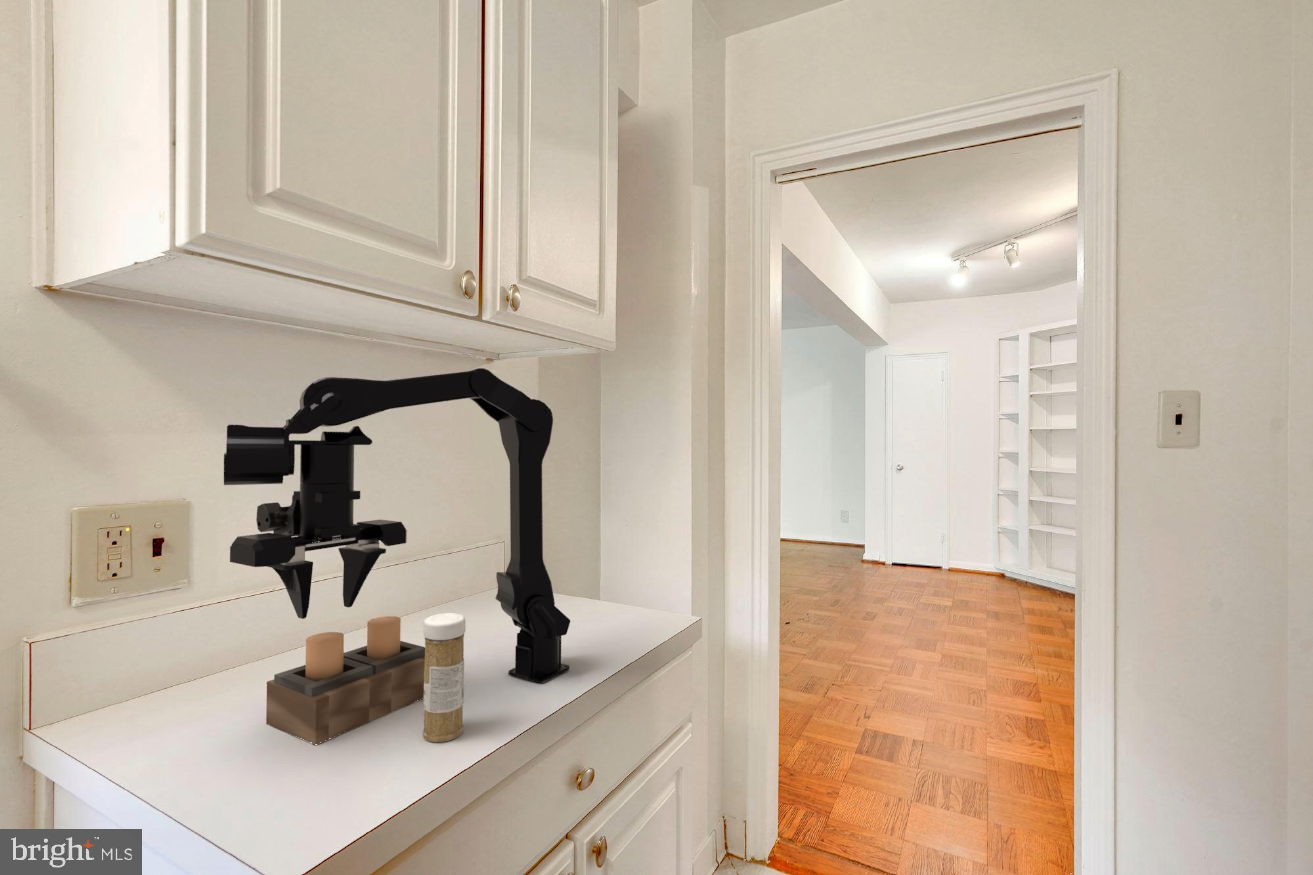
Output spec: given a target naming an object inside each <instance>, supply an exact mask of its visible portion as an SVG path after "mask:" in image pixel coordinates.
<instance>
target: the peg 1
mask: <svg viewBox="0 0 1313 875" xmlns="http://www.w3.org/2000/svg"><path fill="white" fill-rule="evenodd" d="M344 637H345V635H344V633H343V632H339V631H328V632H321V633H317V634H313V635H310V636H308V637H306V639H305V665H306V674H305V678H307V679H310V680H313V681H315V682H317V681H320V680H323V679H326V678H329V677H332V676H335V675H338V674H341V673H343V658H344V653H345V651H344V645H345V642H344V641H345V640H344V639H345V638H344Z"/></svg>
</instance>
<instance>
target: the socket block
mask: <svg viewBox="0 0 1313 875" xmlns="http://www.w3.org/2000/svg"><path fill="white" fill-rule="evenodd" d="M424 670H425V646H422V645H418V644H415V643H410V642H407V641H403V640H400V653H399V654H396V655H393V656H390V657H387V658H384V659H381V660H376V659H372V658H369V657H367V645H365V646H361V647H358V648H355V649H352V650H348V651H346V652H345V651H344V658H343V673H341V674H338V675H335V676H332V677H329V678H326V679H323V680H320V681H317V682H315V681H313V680H310V679H307V678H305V674H306V664H304V665H301V666H298V667H294V668H291V669H288V670H285V671H281V672H279V673H276V674H274V675H273V676H274V677H273V678H274V679H271V680H268V681H266V709H265V710H266V716H265V717H266V719H265V720H266V722H265V724H266V725H268V726H270V727H273V728H274V729H277V730H279V731H281V732H284V733H286V732H287V733H286V734H289V735H290V734H291V735H290V736H293V735H294V736H293V737H295V736H297V737H299V738H298V739H300V738H302V739H304V740H306V741H308V742H307V743H309V742H312V743H313V744H318V745H320V744H321V743H320V742H322V743H324V742H323V741H325V740H327V741H329V740H330V739H329V738H332V739H334V738H335V737H334V736H336V737H338V735H339V734H341V735H343V734H345V733H347V731H348V732H350V731H352V730H354V729H357V728H359V727H361V726H364V725H366V724H368V723H371V722H372V721H375V720H377V719H379V718H380V719H381V717H384V716H387V715H388V714H391V713H393V711H394V712H396V711H398V710H400V709H402V708H405V707H407V706H409V704H410V705H412V704H414V703H416V702H415V701H417V700H419V701H421V700H423V699H424ZM422 698H423V699H422ZM420 699H421V700H420ZM413 702H414V703H413ZM417 702H418V701H417ZM411 703H412V704H411ZM344 732H345V733H344ZM339 736H340V735H339ZM297 737H296V738H297ZM333 737H334V738H333ZM302 739H301V740H302ZM328 739H329V740H328ZM304 740H303V741H304ZM306 741H305V742H306ZM325 742H326V741H325ZM319 743H320V744H319ZM313 744H312V745H313Z"/></svg>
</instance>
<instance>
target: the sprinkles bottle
mask: <svg viewBox="0 0 1313 875" xmlns="http://www.w3.org/2000/svg"><path fill="white" fill-rule="evenodd" d="M465 633H466V618H465V616H464V615H463V614H460V613H454V612H445V613H444V612H443V613H438V614H437V613H436V614H434V615H431V616H428V617H426V618H425V619H424V620H423V637H424V647H425V670H424V698H423V706H422V707H423V711H424V712H423V728H422V736H423V738H424V740H426V741H428V742H434V743H435V742H437V743H438V742H439V743H441V742H448V741H451V740H454V739H455V738H457V737H459V736H460V735H462V734H463V732H464V724H463V711H464V710H463V706H464V700H465V699H464V696H465V695H464V694H465V693H464V690H465V687H464V686H465V684H464V682H465V680H464V678H465V673H464V672H465V659H464V651H465V650H464V646H465V645H464V642H465V641H464V640H465V638H464V637H465Z"/></svg>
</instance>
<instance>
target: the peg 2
mask: <svg viewBox="0 0 1313 875" xmlns="http://www.w3.org/2000/svg"><path fill="white" fill-rule="evenodd" d="M401 620H402V618H401V617H399V616H393V615H391V616H389V615H386V616H385V615H384V616H378V617H375V618H371V619H369V620H368V621H367V624H366V626H367V627H366V629H367V633H366V634H367V635H366V638H367V640H366V646H367V657H369V658H372V659H376V660H381V659H384V658H387V657H390V656H393V655H396V654H399V653H400V641H401V628H402V627H401V622H402V621H401Z"/></svg>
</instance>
